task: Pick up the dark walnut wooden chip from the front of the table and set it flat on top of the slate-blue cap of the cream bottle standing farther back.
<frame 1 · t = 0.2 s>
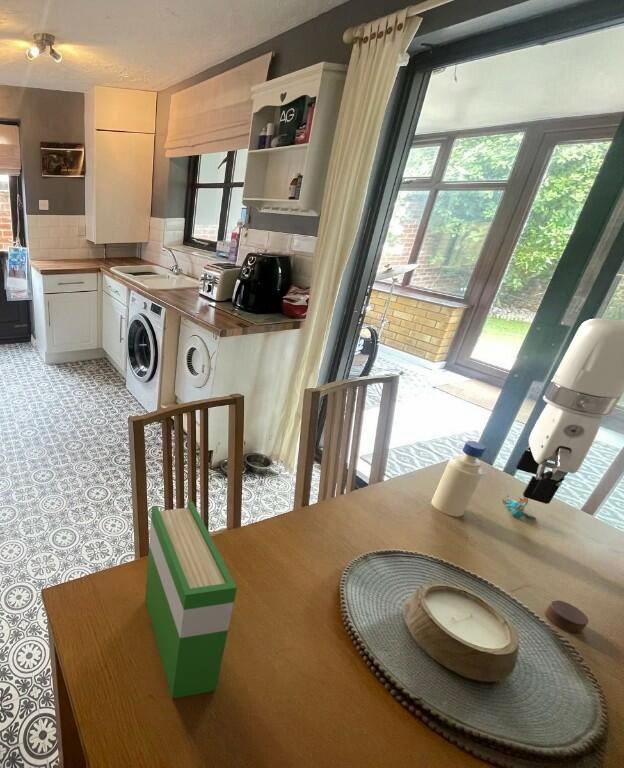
hand: (530, 484, 72), 28 cm above the table, tool pointing down, fingers open, 9 cm apart
chip: (562, 621, 78), on the table
dragon figurine: (513, 510, 107), on the table
hardback book: (176, 641, 74), on the table
bottle: (447, 507, 107), on the table
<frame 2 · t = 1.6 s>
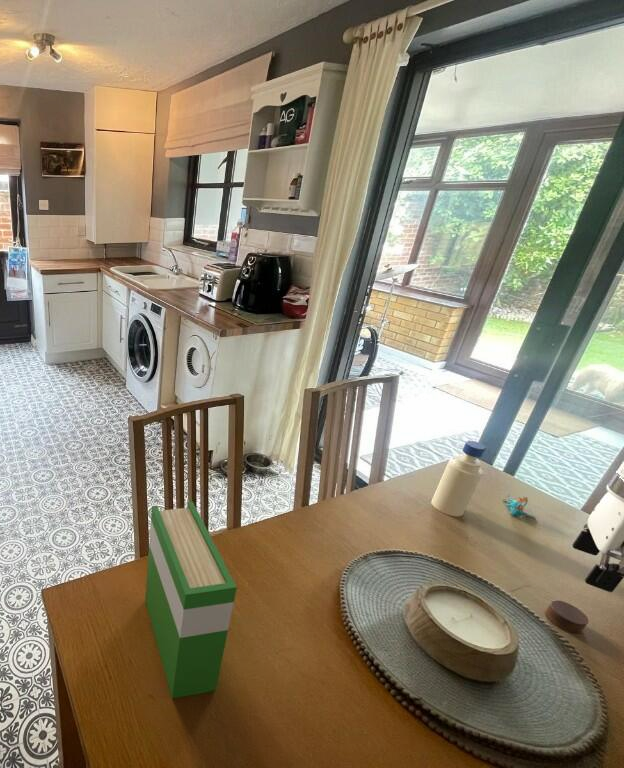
hand: (590, 567, 73), 14 cm above the table, tool pointing down, fingers open, 9 cm apart
nothing on the table moved.
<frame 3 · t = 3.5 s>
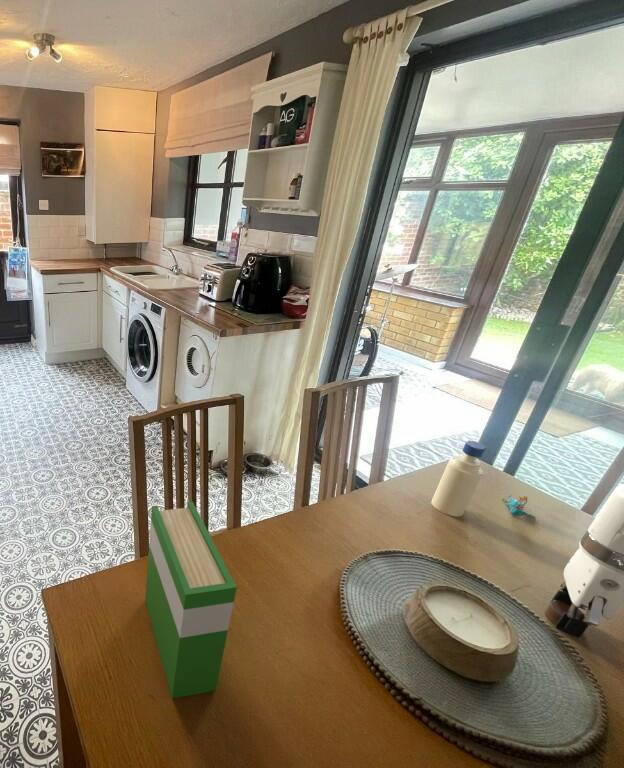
hand: (563, 619, 78), 0 cm above the table, tool pointing down, fingers closed on chip, 5 cm apart
chip: (562, 621, 78), on the table, touching gripper
everything else where it was.
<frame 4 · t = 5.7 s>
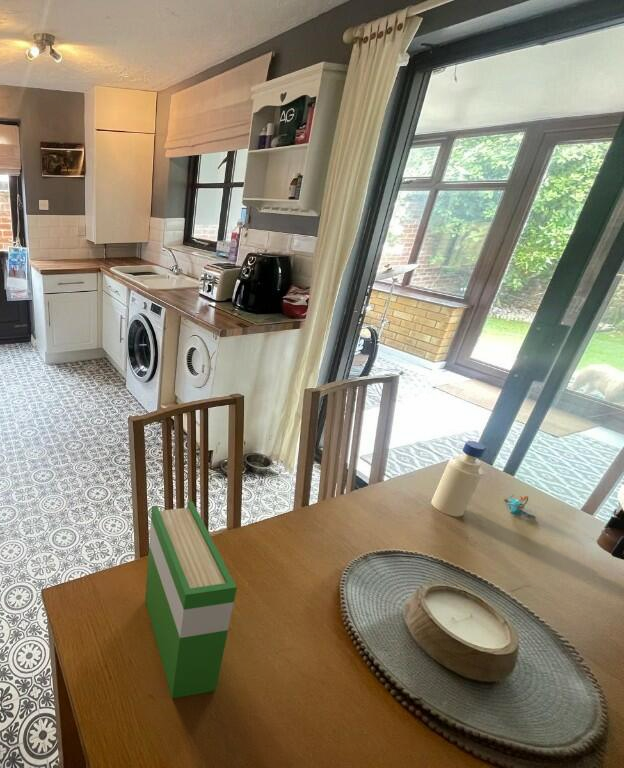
hand: (619, 547, 70), 19 cm above the table, tool pointing down, fingers closed on chip, 5 cm apart
chip: (617, 549, 70), point 19 cm above the table, touching gripper
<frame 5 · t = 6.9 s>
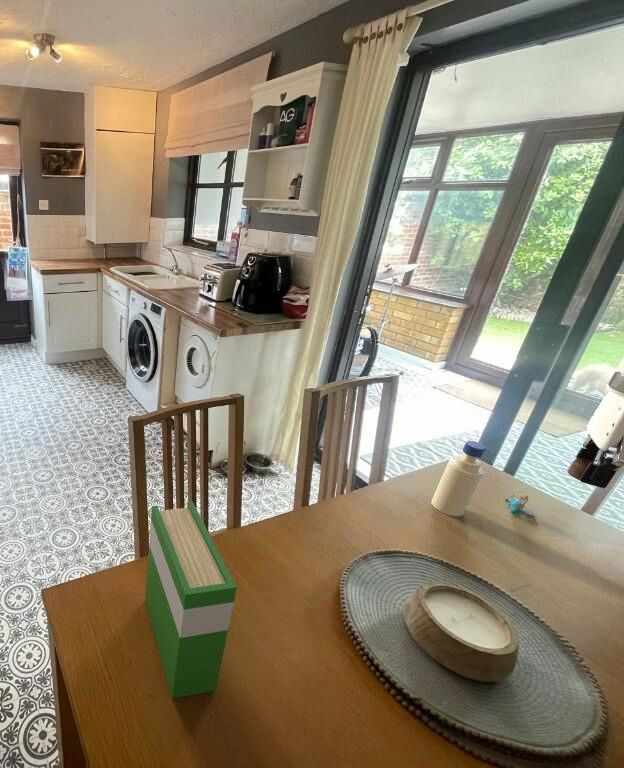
hand: (587, 475, 75), 28 cm above the table, tool pointing down, fingers closed on chip, 5 cm apart
chip: (586, 477, 75), point 27 cm above the table, touching gripper
everything else where it was.
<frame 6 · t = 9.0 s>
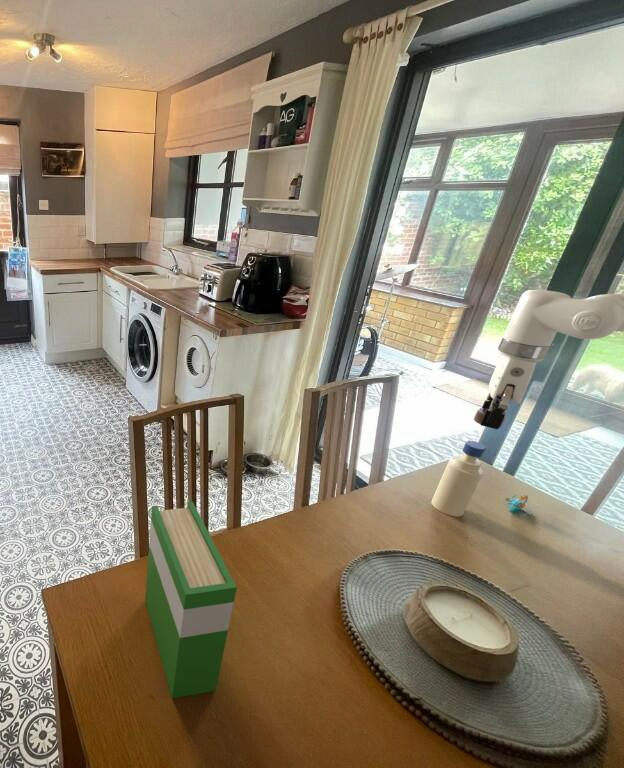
hand: (488, 421, 96), 26 cm above the table, tool pointing down, fingers closed on chip, 5 cm apart
chip: (487, 422, 96), point 26 cm above the table, touching gripper
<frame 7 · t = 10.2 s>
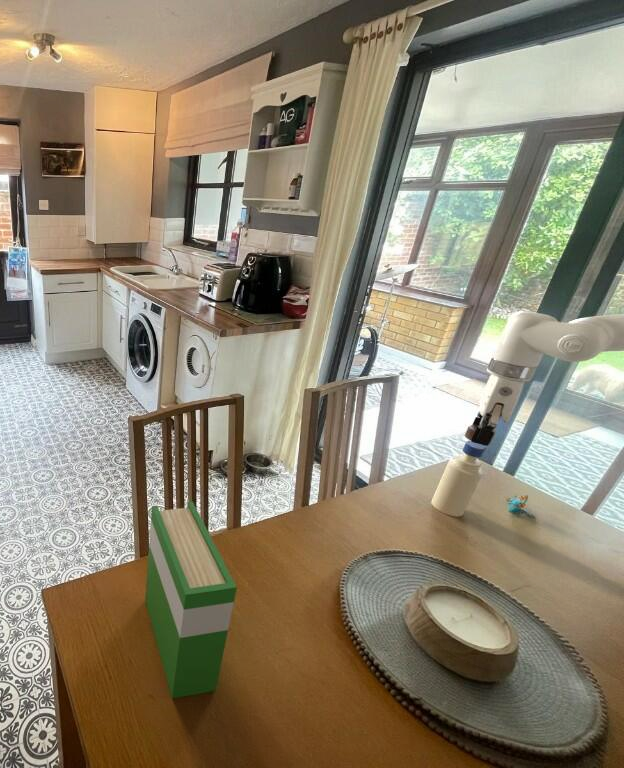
hand: (478, 437, 98), 21 cm above the table, tool pointing down, fingers closed on chip, 5 cm apart
chip: (477, 438, 98), point 21 cm above the table, touching gripper
when the fingers open (20 cm above the table, at t = 11.1 s): chip stays where it is, resting on bottle.
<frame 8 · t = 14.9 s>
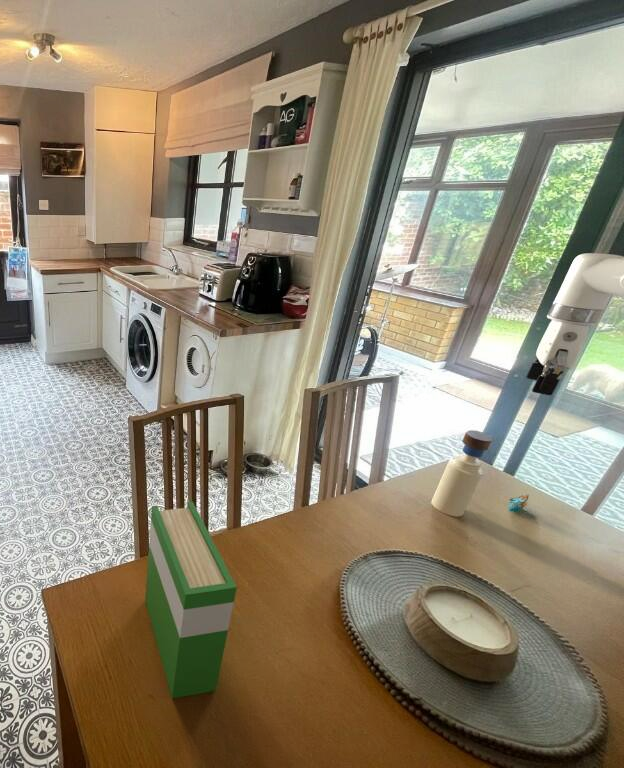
hand: (537, 386, 95), 34 cm above the table, tool pointing down, fingers open, 9 cm apart
chip: (475, 444, 99), point 19 cm above the table, touching bottle
at the end: chip 0.1 cm off-centre on the bottle, point 19.4 cm above the bottle's base; chip tilted 0°; the gripper is holding nothing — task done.
